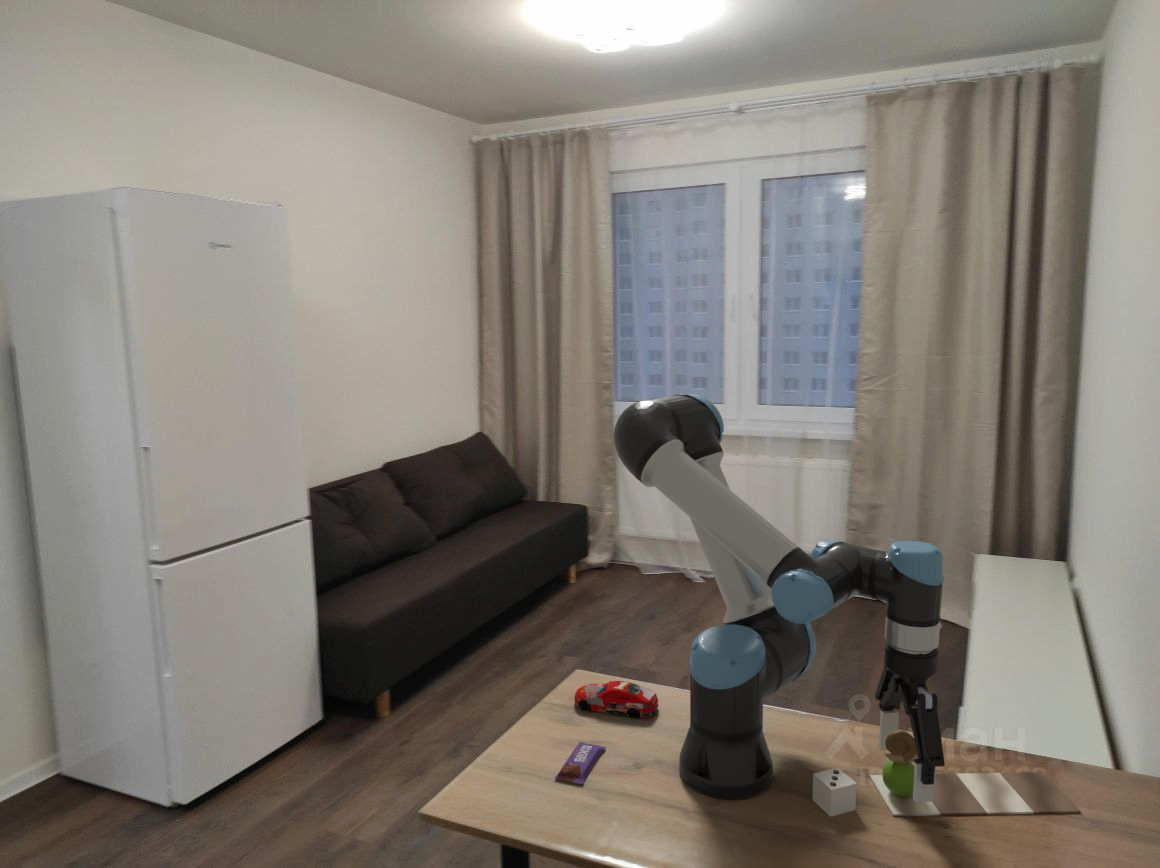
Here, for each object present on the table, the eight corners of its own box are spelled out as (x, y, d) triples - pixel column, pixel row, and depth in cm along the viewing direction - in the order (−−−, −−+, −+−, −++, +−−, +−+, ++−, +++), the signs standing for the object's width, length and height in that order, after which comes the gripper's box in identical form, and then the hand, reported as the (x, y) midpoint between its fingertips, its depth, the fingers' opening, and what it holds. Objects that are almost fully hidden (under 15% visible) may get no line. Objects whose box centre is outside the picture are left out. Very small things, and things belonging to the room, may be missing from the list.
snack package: (579, 736, 141) (606, 742, 139) (579, 746, 141) (606, 752, 140) (553, 772, 130) (582, 779, 129) (554, 783, 131) (582, 790, 129)
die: (830, 817, 120) (831, 789, 120) (812, 800, 125) (813, 772, 124) (855, 810, 122) (856, 782, 121) (836, 793, 126) (837, 766, 125)
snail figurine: (929, 806, 122) (933, 733, 120) (884, 801, 123) (888, 729, 121) (921, 785, 127) (925, 715, 125) (879, 781, 128) (882, 711, 126)
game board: (893, 816, 120) (893, 814, 120) (869, 776, 130) (869, 775, 130) (1080, 812, 120) (1080, 811, 120) (1042, 773, 130) (1042, 772, 130)
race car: (569, 710, 153) (568, 686, 153) (581, 694, 160) (581, 671, 159) (651, 724, 148) (651, 699, 147) (661, 706, 154) (660, 682, 153)
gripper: (976, 683, 109) (967, 824, 112) (903, 612, 133) (897, 730, 137) (921, 684, 109) (913, 825, 112) (858, 612, 133) (853, 730, 137)
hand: (904, 773), depth 124 cm, fingers open, 13 cm apart
